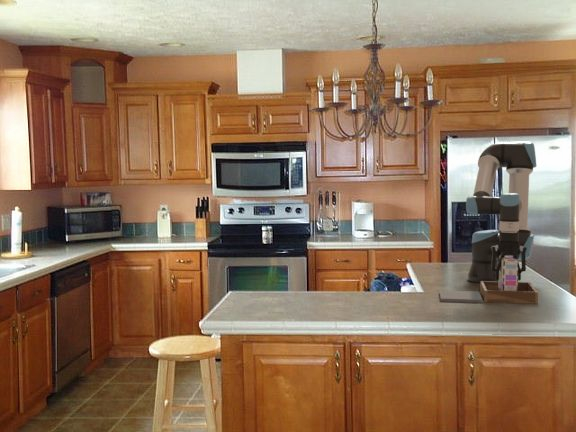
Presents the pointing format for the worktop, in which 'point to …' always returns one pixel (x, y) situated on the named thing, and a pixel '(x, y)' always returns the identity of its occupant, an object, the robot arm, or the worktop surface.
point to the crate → (508, 293)
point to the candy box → (509, 274)
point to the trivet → (460, 296)
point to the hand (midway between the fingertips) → (507, 287)
